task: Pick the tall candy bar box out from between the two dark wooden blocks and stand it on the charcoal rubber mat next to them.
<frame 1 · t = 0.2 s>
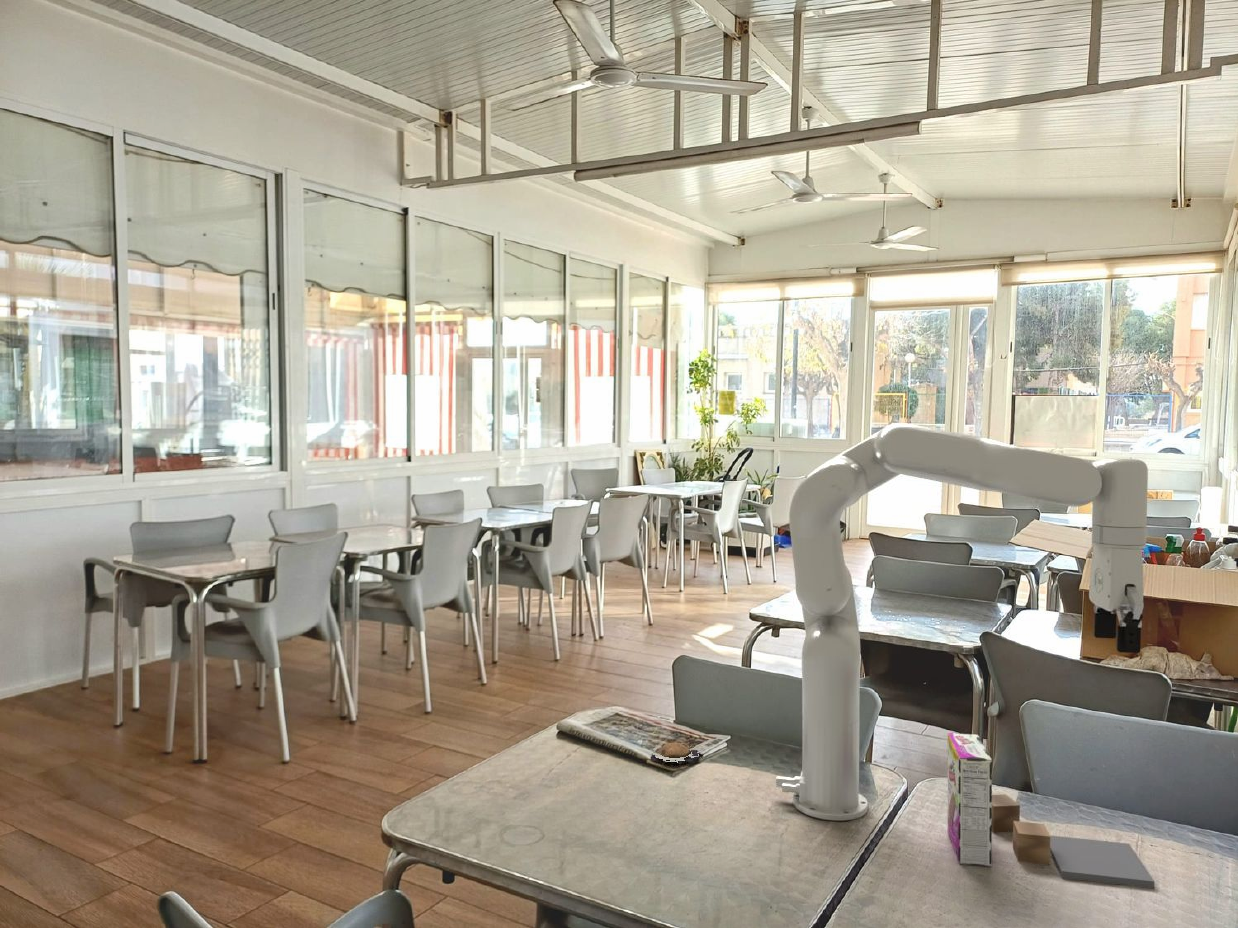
hand: (1116, 644, 141), 31 cm above the table, tool pointing down, fingers open, 9 cm apart
walnut block: (1030, 856, 136), on the table
dark oak block: (999, 826, 146), on the table
bread roll: (675, 763, 176), on the table
charcoal mat: (1096, 863, 133), on the table
candy bar box: (967, 850, 138), on the table
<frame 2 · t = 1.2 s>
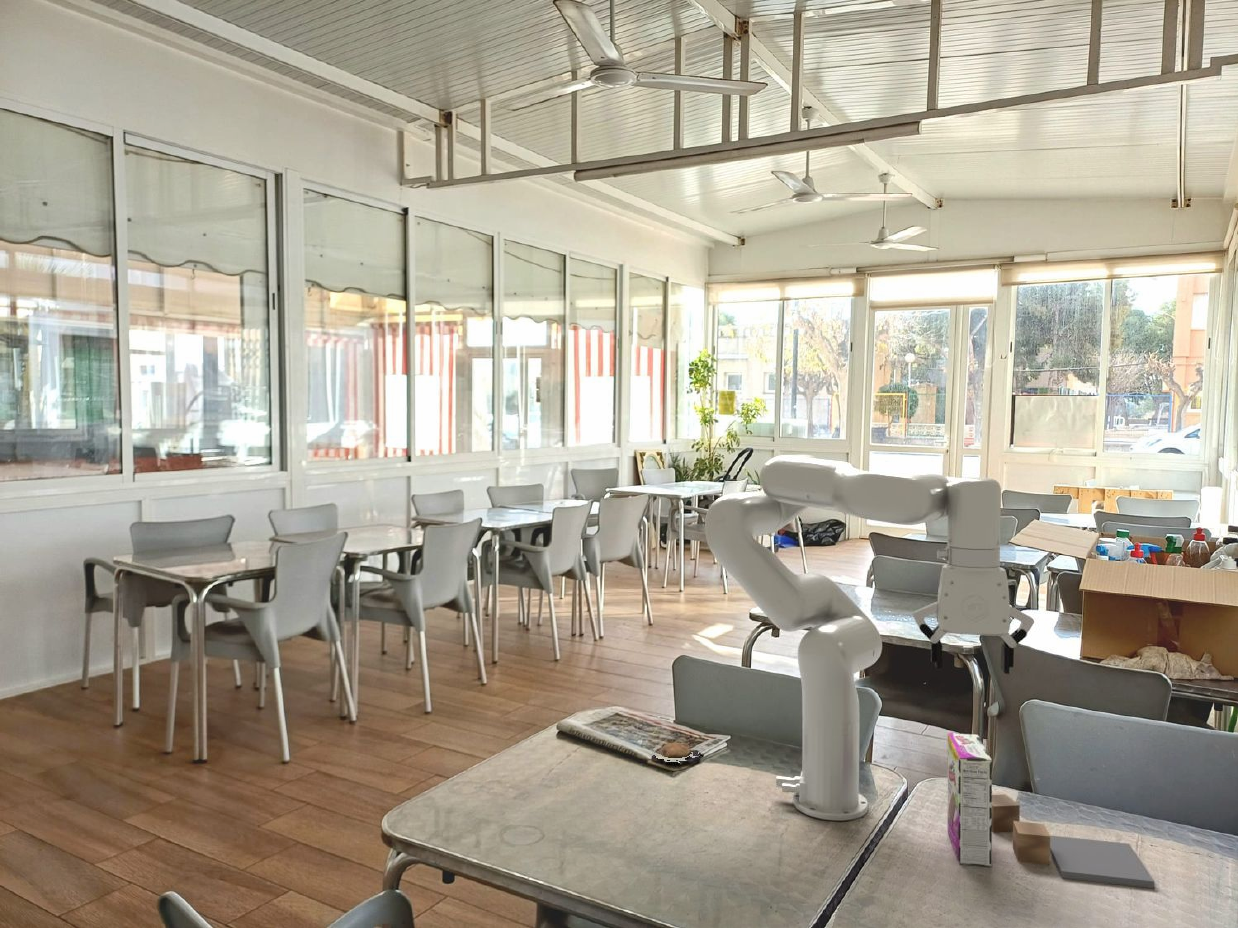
hand: (971, 669, 137), 28 cm above the table, tool pointing down, fingers open, 9 cm apart
nothing on the table moved.
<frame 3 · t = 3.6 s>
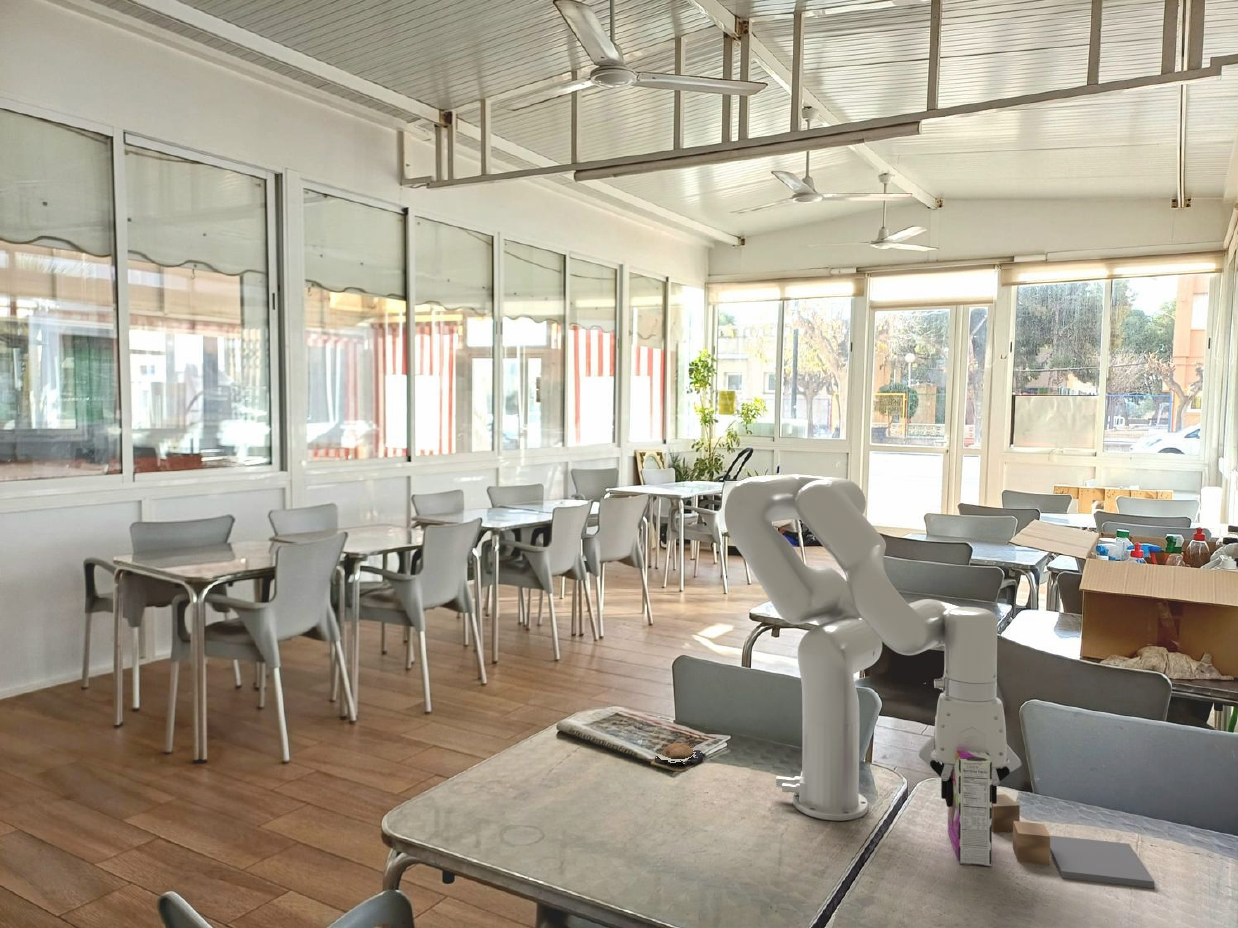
hand: (968, 804, 138), 7 cm above the table, tool pointing down, fingers closed on candy bar box, 5 cm apart
candy bar box: (967, 850, 138), on the table, touching gripper
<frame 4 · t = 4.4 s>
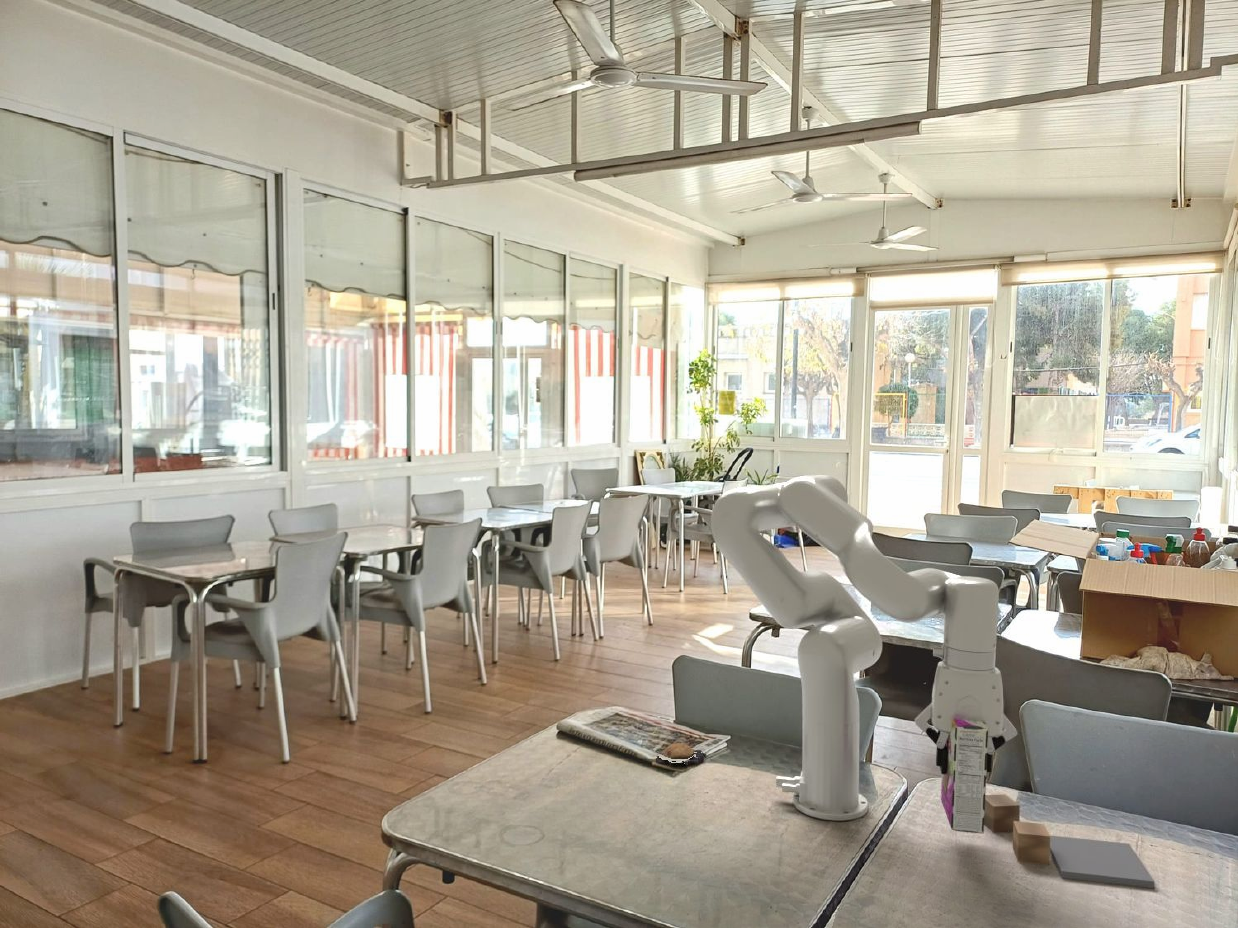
hand: (962, 772, 138), 12 cm above the table, tool pointing down, fingers closed on candy bar box, 5 cm apart
candy bar box: (960, 818, 139), point 5 cm above the table, touching gripper
everything else where it was.
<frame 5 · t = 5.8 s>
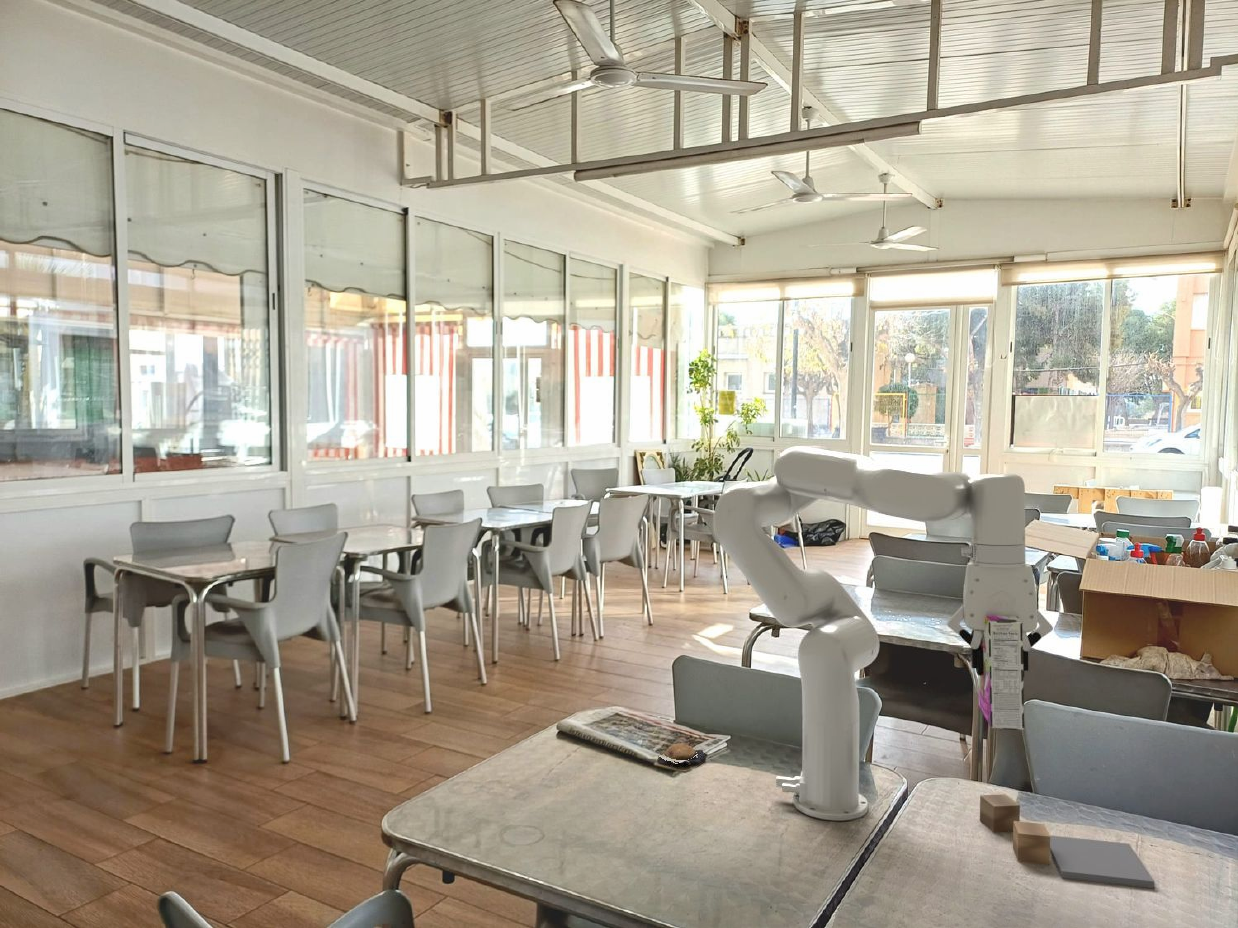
hand: (999, 672, 136), 28 cm above the table, tool pointing down, fingers closed on candy bar box, 5 cm apart
candy bar box: (999, 720, 136), point 21 cm above the table, touching gripper
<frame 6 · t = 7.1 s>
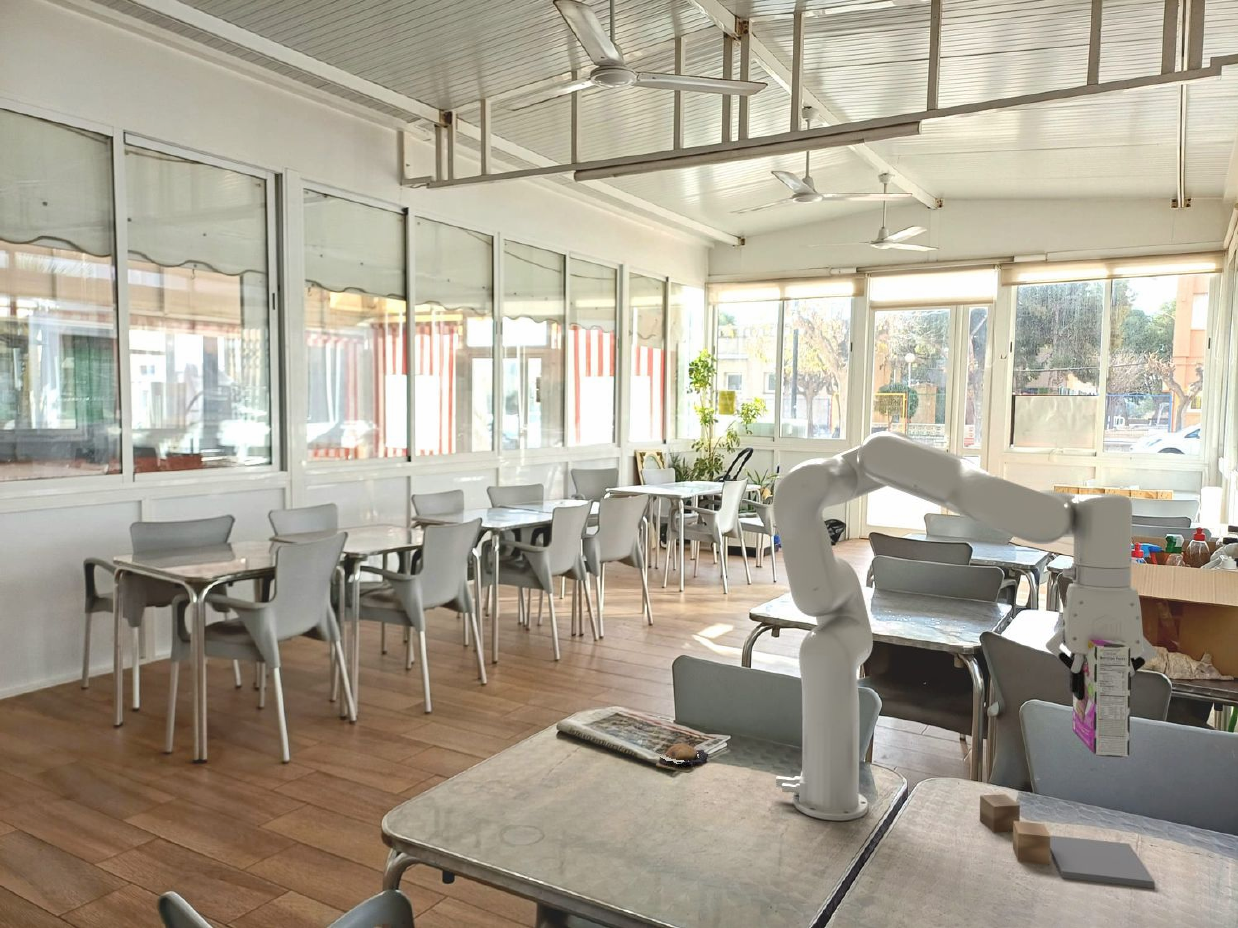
hand: (1099, 697, 132), 25 cm above the table, tool pointing down, fingers closed on candy bar box, 5 cm apart
candy bar box: (1098, 745, 133), point 18 cm above the table, touching gripper
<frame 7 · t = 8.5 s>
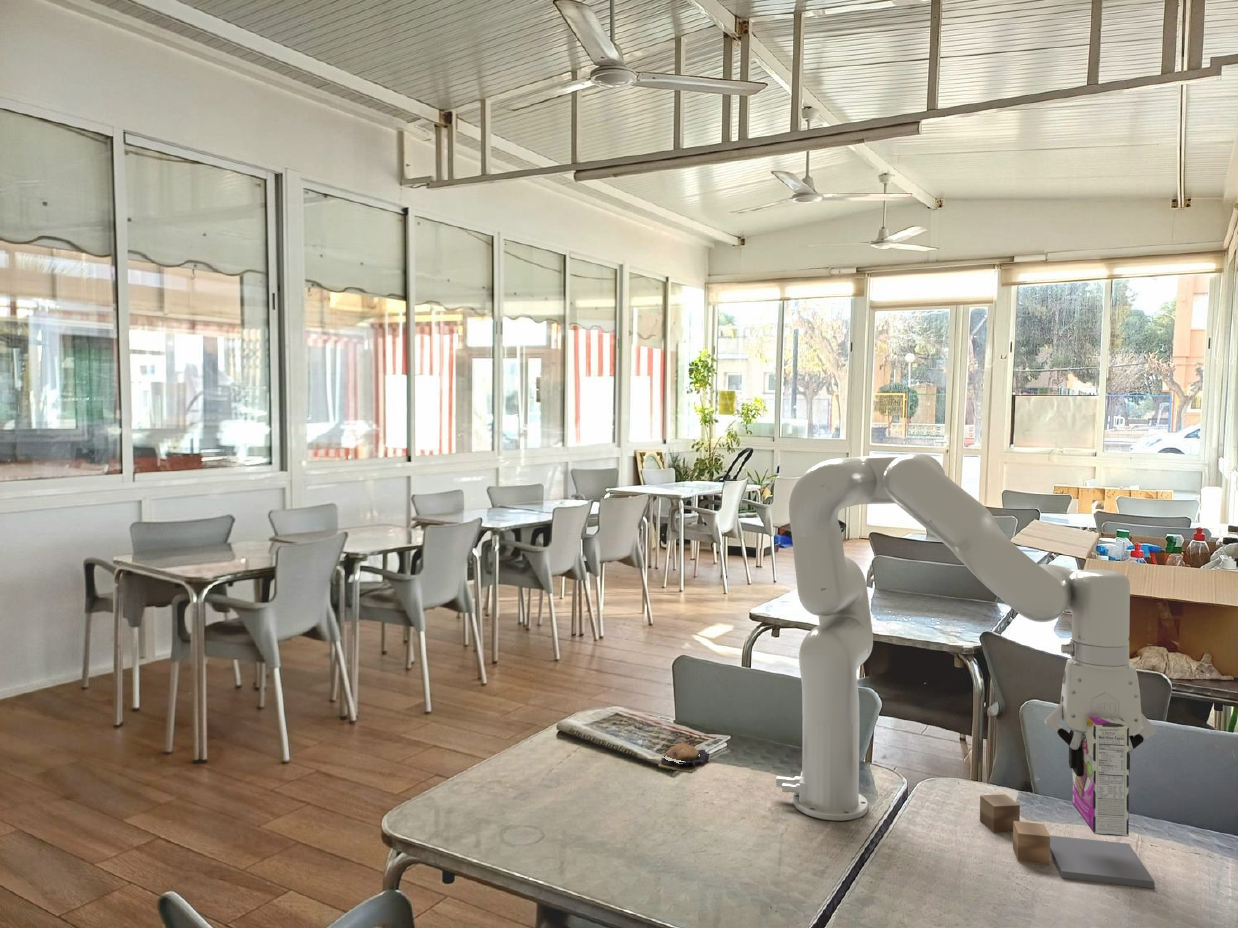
hand: (1098, 773, 133), 14 cm above the table, tool pointing down, fingers closed on candy bar box, 5 cm apart
candy bar box: (1098, 821, 133), point 6 cm above the table, touching gripper
when the fingers open (9 cm above the table, at t = 9.7 s): candy bar box stays where it is, resting on charcoal mat.
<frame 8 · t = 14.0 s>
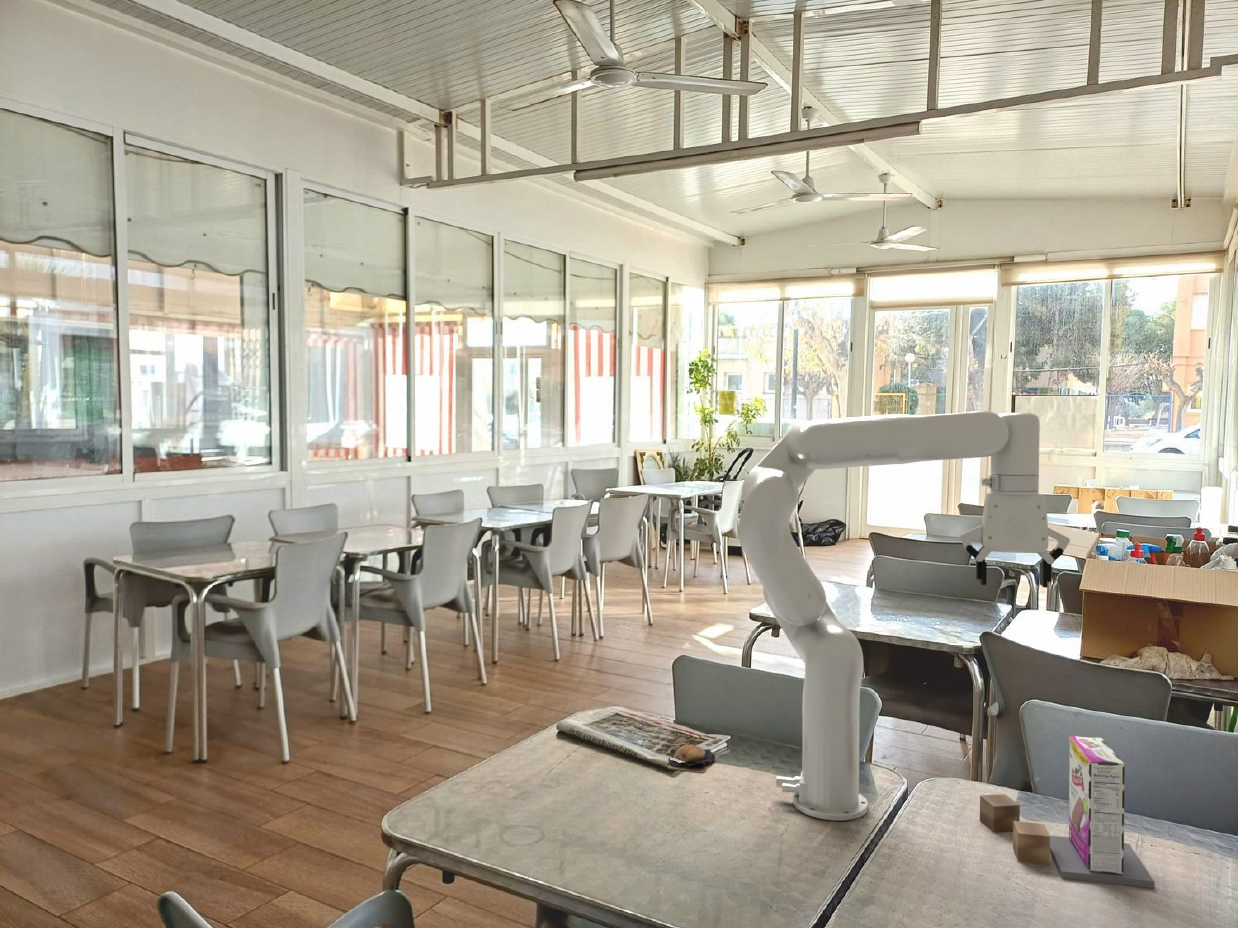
hand: (1013, 585, 153), 38 cm above the table, tool pointing down, fingers open, 9 cm apart
bread roll: (691, 765, 175), on the table
candy bar box: (1094, 857, 133), point 1 cm above the table, touching charcoal mat
everything else where it was.
at the end: candy bar box 0.3 cm off-centre on the charcoal mat, point 0.8 cm above the charcoal mat's base; candy bar box tilted 0°; the gripper is holding nothing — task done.
